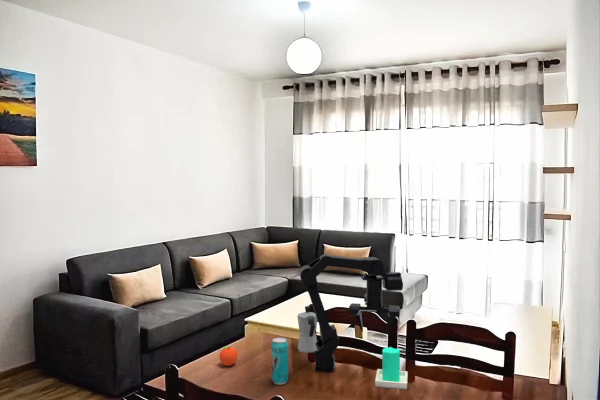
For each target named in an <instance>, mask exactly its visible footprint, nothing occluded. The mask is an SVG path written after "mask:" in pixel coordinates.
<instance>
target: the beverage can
mask: <svg viewBox="0 0 600 400" xmlns="http://www.w3.org/2000/svg"><path fill="white" fill-rule="evenodd" d="M271 342H272V343H271V379H272V382H273V384H274V385H276V386H277V385H278V386H282V385H285V384H287V382H288V380H289V343H288V339H287V338H285V337H275V338H273V339H272V341H271Z"/></svg>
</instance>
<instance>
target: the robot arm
mask: <svg viewBox="0 0 600 400" xmlns="http://www.w3.org/2000/svg"><path fill="white" fill-rule="evenodd" d="M327 267H333V268H344V269H352V270H358V271H362V272H363V273H364V272H365V273H364V274H363V275H362V276H361V277H360V279H361V280H362V281H366V293H364V295H363V296H364V297H363V302H364V303H366V306H362V305H361V303H350V304H349V306H348V314H349V315H351V316H352V317H354V318H355V319H356V320H355V321H356V322H357V324H358V326H359V328H360V329H359V330H360V332H361V333H363V332H364V328H363V327H364V326H363V318H362V314H363V312H365V313H382V314H384V313H385V314H387V315H388V316H387V321H386V329H385V333H386V334H387V335H388V333H389V329H390V327H391V323H392V322H393V320H394V319H397V317H400V315H401V307H400V305H392V304H390V305H388V307H383V305H384V304H383V302H384V299H383V289H385V291H386V292H392V291H393V292H394V291H396V292H398V291H399V292H400V291H402V290H403V288H404V282H403V278H402V274H401V272H399V271H396V272H387V271H386V270H385V269H384V263H383V262H382V261H381V260H380V259H379V258H377V257H375V256H366V257H364V256H363V257H357V258H356V257H348V256H340V255H330V254H327V253H324V254H321V255H320V256H319V257H318V258H316V259H315V260H313V261H311V262H310V263H309V264H307V265H303V266H301V267H300V269H299V271H298V275H299V278H300V280H301V282H302V284H303V286H304V288H305V289H306V291H307V293H308V296H309V298H310V302H311V304H312V307H313V311H314V313H315V314H316V317H317V324H318V325H319V336H320V338H319V339H317V342H316V343H315V345H316V348H317V351H316V352H314V354H315V366H314V367H315V368H314V371H315V372H323V373H324V372H325V373H332V372H333V370H334V369H335V367H336V361H335V360H336V356H335V355H334V352H335V350H337V348H338V347H339V343H340V342H339V341H340V337H339V336H338V332H337V328H336V326H335V325H334V324H332V325H331V324H330V322H329V319H328V316H327V313H326V310H325V308H324V304H323V301H322V298H321V296H320V292H319V287H318V279H317V277H318V276H320V274H322V272H323V271H324V270H325V269H326V268H327ZM377 275H378V276H377Z"/></svg>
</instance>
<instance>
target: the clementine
mask: <svg viewBox="0 0 600 400" xmlns="http://www.w3.org/2000/svg"><path fill="white" fill-rule="evenodd" d="M221 349H222V350H221ZM220 350H221V351H220ZM218 351H219V355H218V356H219V361H220V363H221V364H222V365H224V366H226V367H227V366H232V365H234V364H235V363H236V362H237V360H238V357H239V356H238V352H237V350H236V348H234V347H233V346H223V347H221V348H220V349H218Z"/></svg>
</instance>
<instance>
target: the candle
mask: <svg viewBox="0 0 600 400" xmlns="http://www.w3.org/2000/svg"><path fill="white" fill-rule="evenodd" d="M381 353H382V355H381V357H382V359H381V360H382V362H381V363H382V364H381V365H382V368H381V369H382V380H383V381H393V382H399V381H400V371H401V370H400V367H401V366H400V362H401V361H400V360H401V359H400V358H401V357H400V354H401V352H400V349H398V348H394V347H391V346H390V347H385V348H383V349H382V351H381Z"/></svg>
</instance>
